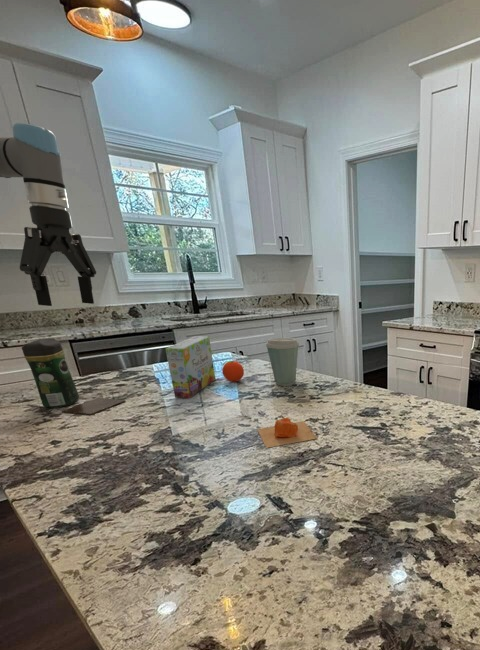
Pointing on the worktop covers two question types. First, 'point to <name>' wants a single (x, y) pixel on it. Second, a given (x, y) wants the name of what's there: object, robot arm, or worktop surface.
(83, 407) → the walnut coaster
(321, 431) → the worktop surface
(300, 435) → the orange chunks on board
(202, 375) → the snack box
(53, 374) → the coffee jar
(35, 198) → the robot arm
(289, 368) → the disposable coffee cup
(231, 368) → the clementine
